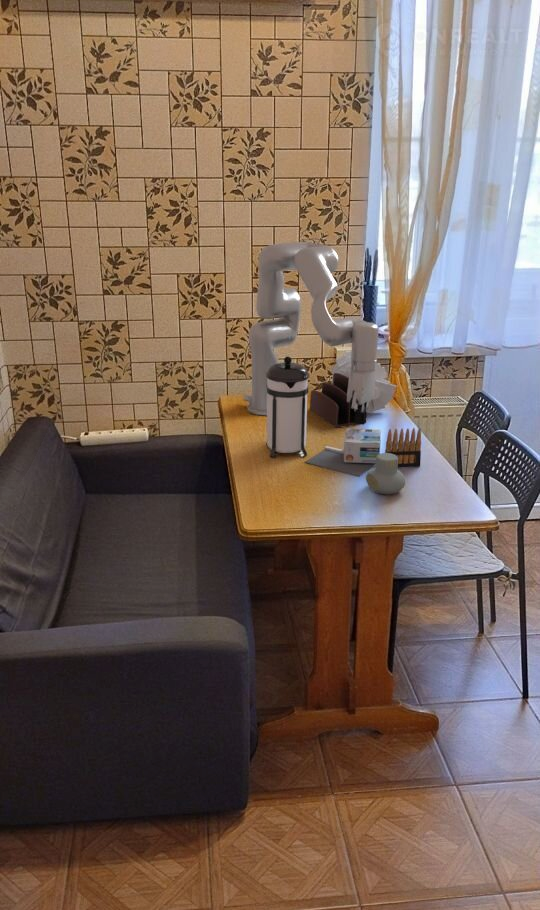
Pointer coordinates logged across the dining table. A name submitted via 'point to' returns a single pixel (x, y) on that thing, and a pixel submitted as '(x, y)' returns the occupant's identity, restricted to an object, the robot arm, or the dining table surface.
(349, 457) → the light bulb box
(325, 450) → the mat
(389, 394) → the spiral staircase
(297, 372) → the coffee press
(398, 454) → the ammunition clip
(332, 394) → the letter holder
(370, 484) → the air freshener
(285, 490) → the dining table surface
